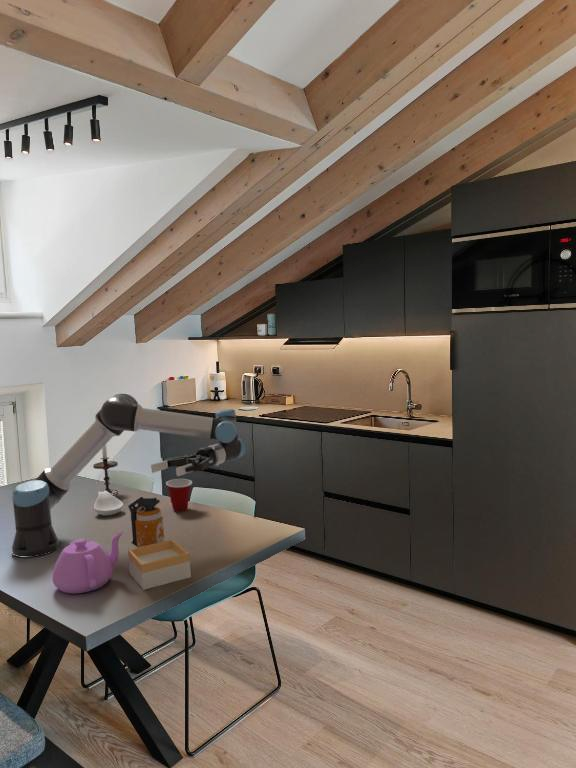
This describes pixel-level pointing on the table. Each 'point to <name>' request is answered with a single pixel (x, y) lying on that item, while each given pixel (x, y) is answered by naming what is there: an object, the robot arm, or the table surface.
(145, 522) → the canister
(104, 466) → the candlestick
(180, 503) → the plastic cup
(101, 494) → the spoon rest
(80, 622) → the table surface
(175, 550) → the orange-rimmed open box
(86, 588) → the teapot
